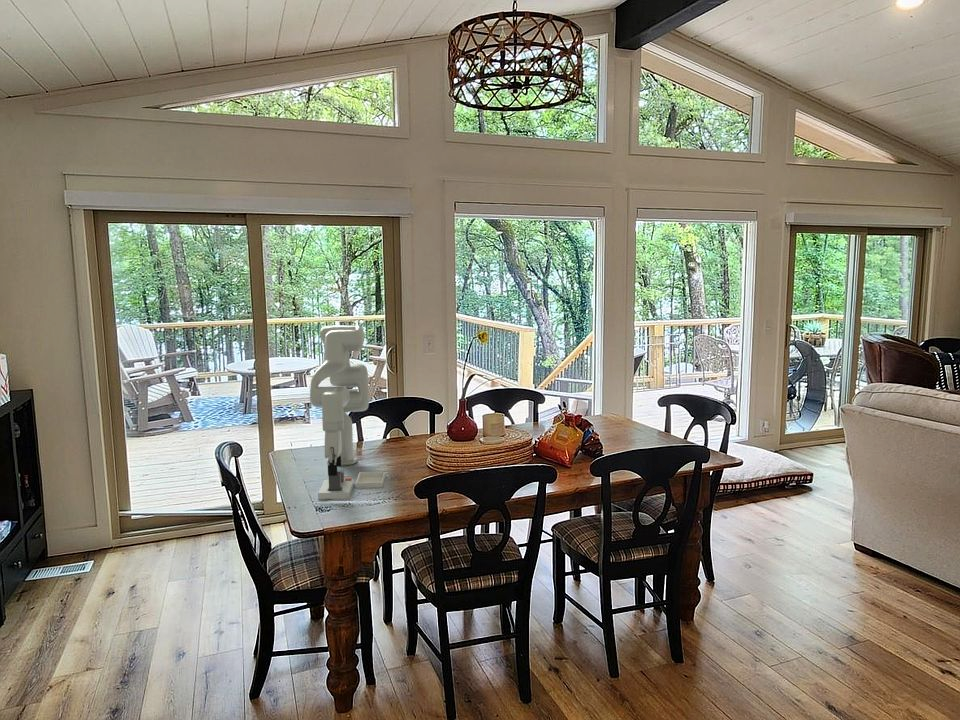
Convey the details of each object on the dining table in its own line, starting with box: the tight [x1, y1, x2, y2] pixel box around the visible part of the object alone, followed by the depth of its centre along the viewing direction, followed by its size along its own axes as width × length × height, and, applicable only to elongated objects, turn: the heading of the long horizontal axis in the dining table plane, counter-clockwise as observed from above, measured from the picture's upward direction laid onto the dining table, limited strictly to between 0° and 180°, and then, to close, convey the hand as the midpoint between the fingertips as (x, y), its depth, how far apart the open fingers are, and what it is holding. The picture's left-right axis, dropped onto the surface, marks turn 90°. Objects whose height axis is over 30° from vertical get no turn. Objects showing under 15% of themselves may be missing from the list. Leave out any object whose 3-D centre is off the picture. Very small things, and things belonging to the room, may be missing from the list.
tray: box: [354, 471, 386, 489], centre depth 257 cm, size 13×10×2 cm
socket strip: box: [317, 469, 355, 501], centre depth 246 cm, size 15×11×7 cm
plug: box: [328, 472, 341, 491], centre depth 242 cm, size 3×4×9 cm
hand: (334, 470), depth 242 cm, fingers open, 9 cm apart
